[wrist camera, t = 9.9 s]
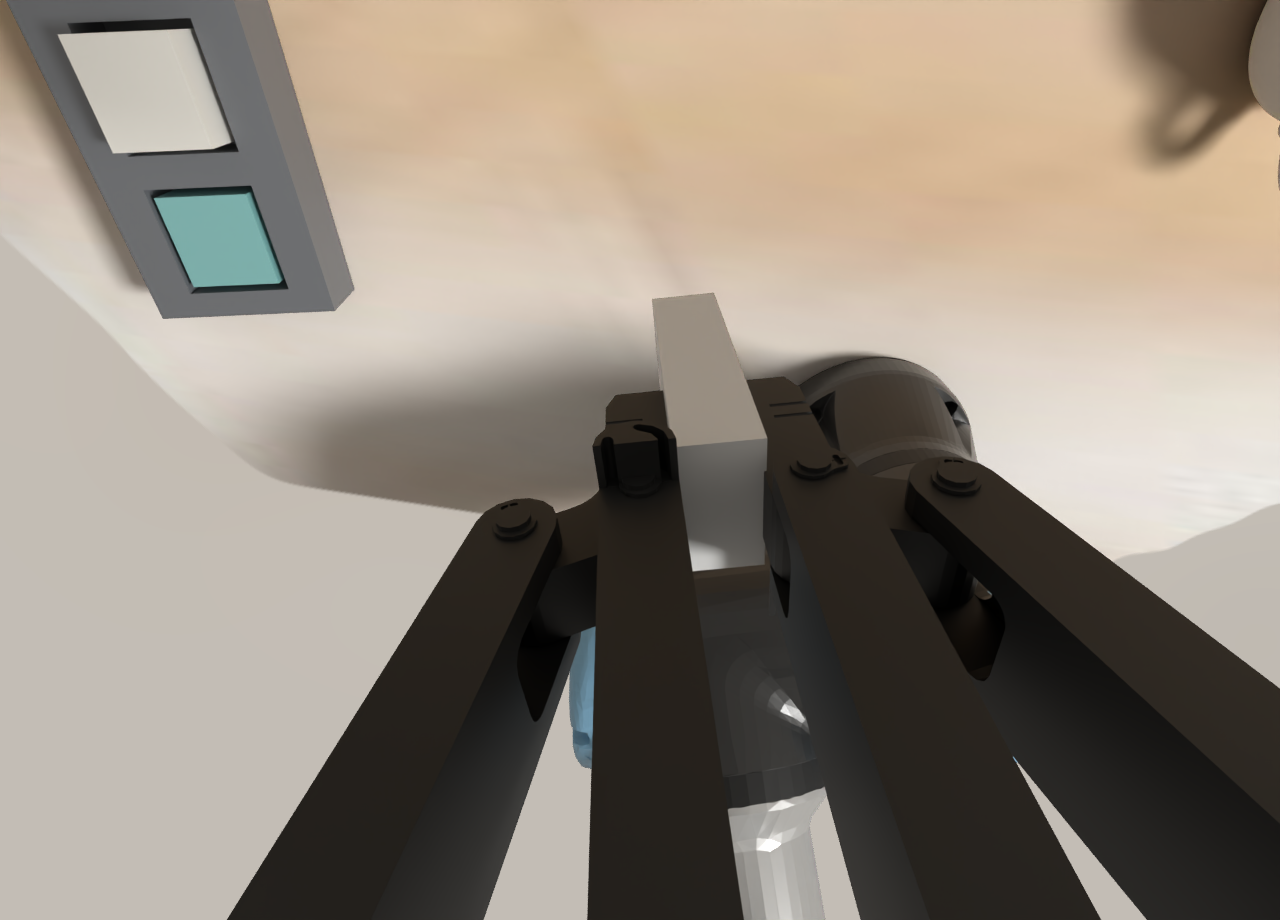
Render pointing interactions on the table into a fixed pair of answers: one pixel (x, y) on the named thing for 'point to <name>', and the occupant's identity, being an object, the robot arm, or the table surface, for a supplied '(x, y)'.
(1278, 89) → the teacup
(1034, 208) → the table surface
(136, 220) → the keyboard
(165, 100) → the white key
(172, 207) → the teal key
